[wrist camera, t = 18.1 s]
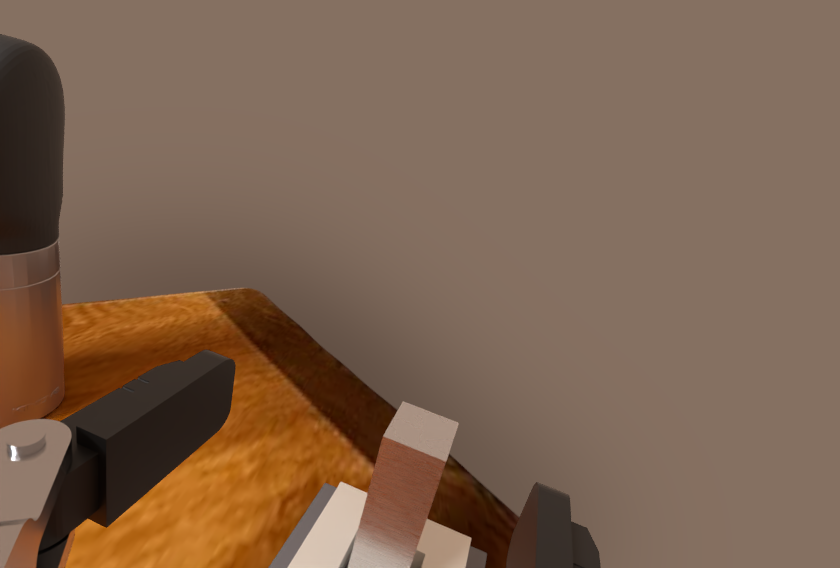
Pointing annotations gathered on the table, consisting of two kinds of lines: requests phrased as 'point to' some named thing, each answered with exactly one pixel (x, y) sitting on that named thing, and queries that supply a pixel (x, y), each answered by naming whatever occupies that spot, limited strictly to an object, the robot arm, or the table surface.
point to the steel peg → (402, 488)
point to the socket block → (337, 528)
